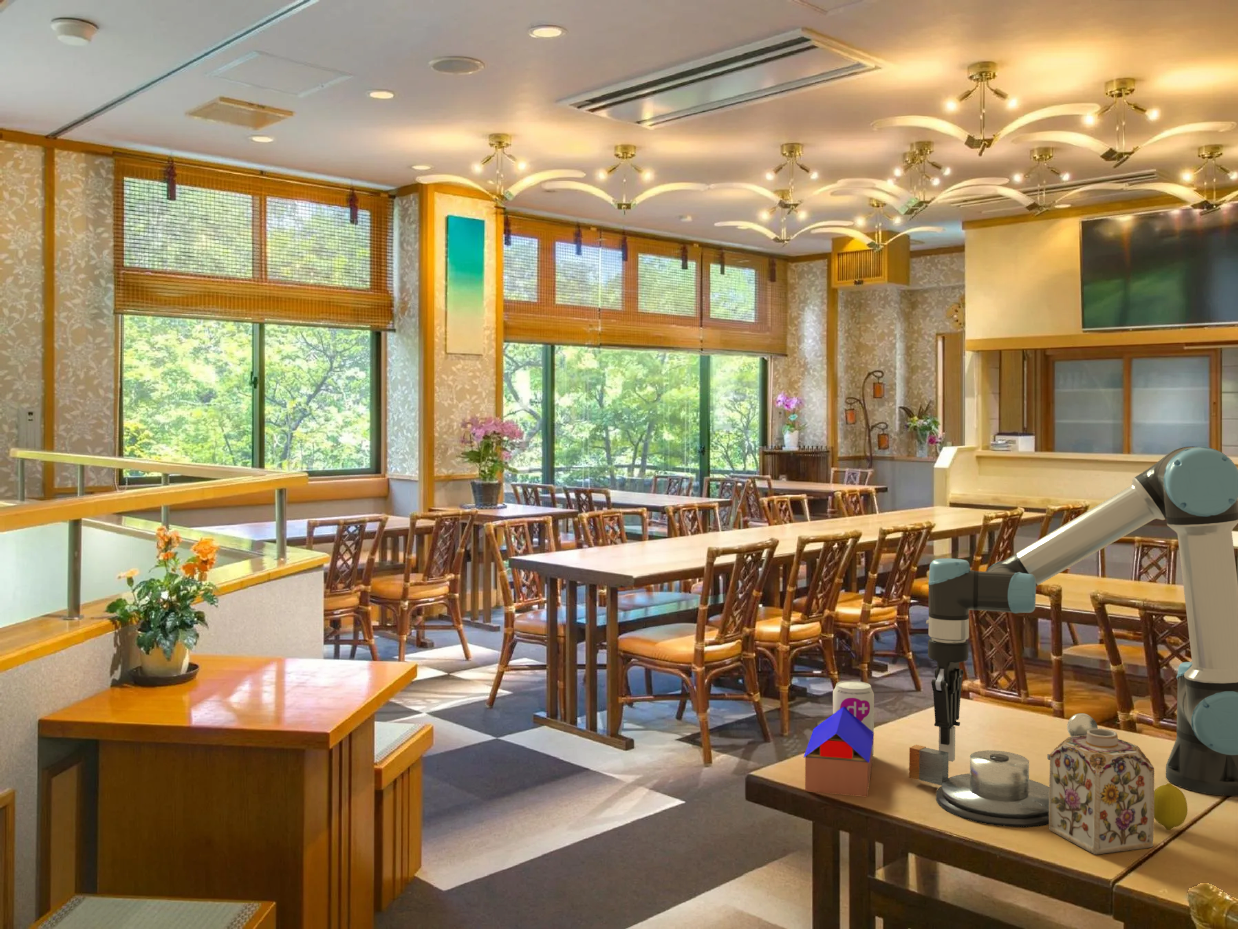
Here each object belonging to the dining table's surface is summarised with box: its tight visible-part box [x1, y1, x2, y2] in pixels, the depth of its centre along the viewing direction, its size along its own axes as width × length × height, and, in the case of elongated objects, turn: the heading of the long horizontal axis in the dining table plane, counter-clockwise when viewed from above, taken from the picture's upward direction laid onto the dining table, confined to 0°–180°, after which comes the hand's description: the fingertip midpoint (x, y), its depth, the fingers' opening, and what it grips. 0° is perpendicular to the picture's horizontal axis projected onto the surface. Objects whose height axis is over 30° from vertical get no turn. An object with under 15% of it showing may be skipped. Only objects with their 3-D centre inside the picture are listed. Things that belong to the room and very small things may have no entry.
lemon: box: [1154, 782, 1188, 831], centre depth 182 cm, size 6×6×8 cm
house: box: [803, 707, 875, 798], centre depth 209 cm, size 12×20×12 cm, turn 164°
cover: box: [969, 749, 1030, 801], centre depth 194 cm, size 10×10×6 cm
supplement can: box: [832, 680, 875, 758], centre depth 222 cm, size 8×8×15 cm
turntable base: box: [935, 785, 1049, 828], centre depth 194 cm, size 22×22×1 cm
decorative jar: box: [1048, 728, 1155, 856], centre depth 178 cm, size 12×12×18 cm
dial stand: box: [1047, 713, 1099, 761], centre depth 196 cm, size 8×4×16 cm, turn 86°
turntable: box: [908, 744, 1049, 818], centre depth 197 cm, size 27×20×6 cm
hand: (946, 759), depth 209 cm, fingers closed
